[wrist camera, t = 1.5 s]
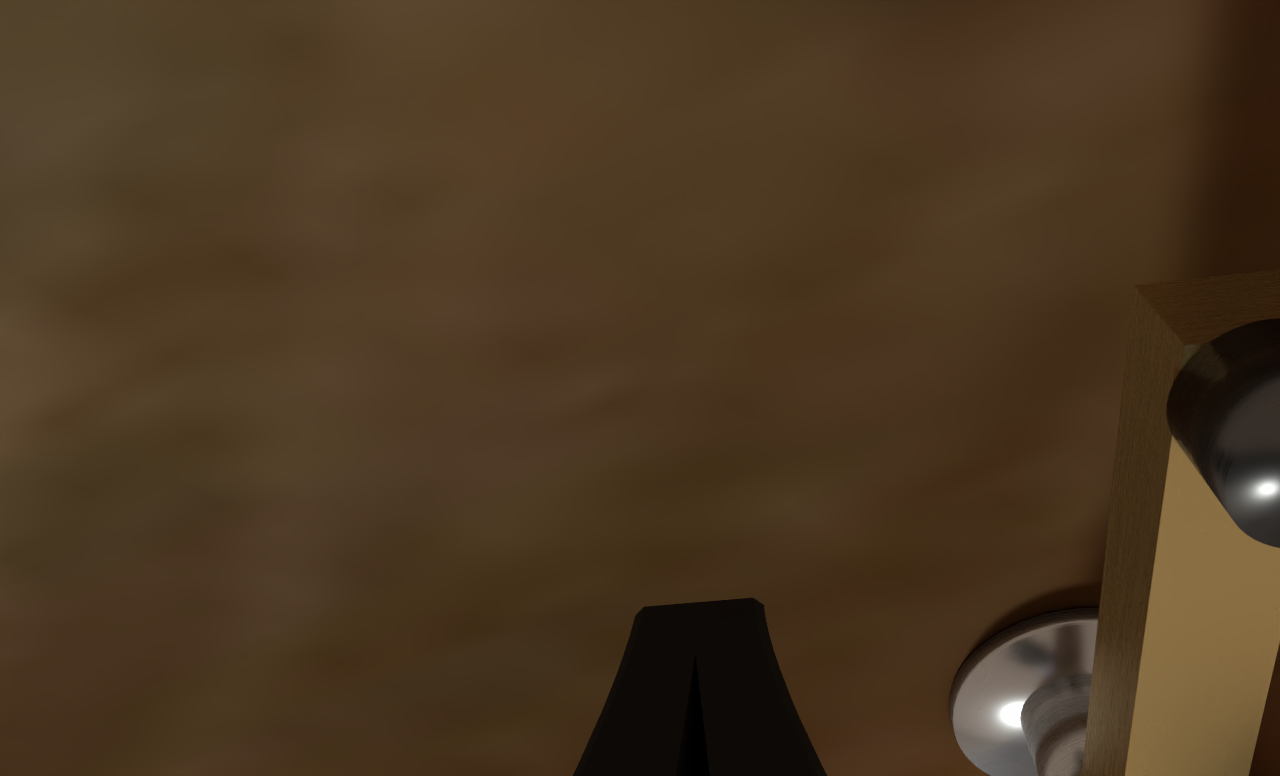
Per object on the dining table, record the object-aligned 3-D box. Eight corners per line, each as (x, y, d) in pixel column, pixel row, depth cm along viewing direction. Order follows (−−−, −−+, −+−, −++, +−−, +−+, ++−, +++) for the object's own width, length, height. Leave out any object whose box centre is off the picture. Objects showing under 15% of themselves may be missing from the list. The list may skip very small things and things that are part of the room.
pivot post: (1178, 765, 20) (1235, 880, 18) (947, 779, 20) (977, 893, 18) (1209, 598, 18) (1276, 706, 16) (949, 618, 18) (982, 726, 16)
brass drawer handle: (1205, 874, 17) (1295, 1066, 15) (1023, 882, 18) (1079, 1072, 15) (1343, 237, 11) (1534, 372, 9) (1065, 269, 12) (1170, 410, 9)
